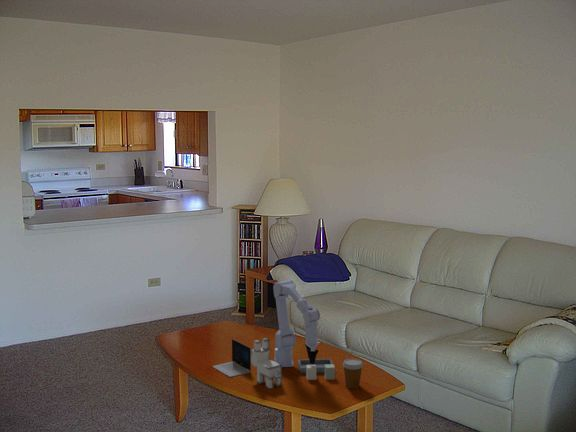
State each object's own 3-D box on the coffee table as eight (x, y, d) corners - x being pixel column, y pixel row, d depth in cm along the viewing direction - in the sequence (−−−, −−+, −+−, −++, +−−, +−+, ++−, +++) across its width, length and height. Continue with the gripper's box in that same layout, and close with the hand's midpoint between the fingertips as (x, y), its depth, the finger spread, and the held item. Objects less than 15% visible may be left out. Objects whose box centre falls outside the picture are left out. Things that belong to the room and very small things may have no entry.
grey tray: (300, 373, 328) (300, 368, 327) (298, 365, 340) (298, 359, 339) (333, 372, 329) (334, 367, 329) (330, 364, 341) (330, 358, 340)
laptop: (211, 367, 338) (211, 343, 336) (232, 362, 345) (232, 338, 343) (229, 378, 323) (229, 352, 322) (251, 372, 330) (251, 347, 329)
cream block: (307, 380, 320) (307, 368, 319) (306, 376, 324) (306, 364, 324) (316, 379, 320) (316, 368, 319) (315, 376, 325) (315, 364, 324)
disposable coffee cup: (357, 391, 306) (357, 366, 304) (339, 387, 311) (339, 363, 309) (366, 384, 314) (366, 360, 312) (348, 380, 319) (348, 357, 317)
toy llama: (272, 390, 307) (271, 349, 305) (251, 379, 321) (250, 339, 318) (284, 386, 312) (284, 346, 309) (263, 375, 326) (263, 336, 323)
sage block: (325, 379, 320) (325, 367, 320) (324, 376, 325) (324, 364, 324) (334, 379, 321) (334, 367, 320) (333, 375, 325) (333, 364, 324)
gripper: (321, 338, 312) (321, 365, 314) (318, 329, 327) (317, 355, 328) (306, 338, 312) (306, 366, 314) (303, 329, 326) (303, 355, 328)
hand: (311, 360), depth 321 cm, fingers open, 7 cm apart
